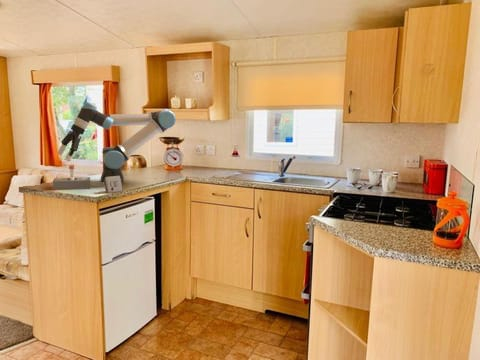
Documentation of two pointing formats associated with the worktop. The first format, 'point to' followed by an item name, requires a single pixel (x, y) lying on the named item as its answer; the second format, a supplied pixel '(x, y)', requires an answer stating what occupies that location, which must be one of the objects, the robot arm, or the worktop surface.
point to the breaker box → (71, 183)
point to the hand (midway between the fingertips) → (62, 157)
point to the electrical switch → (113, 184)
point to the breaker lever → (71, 172)
